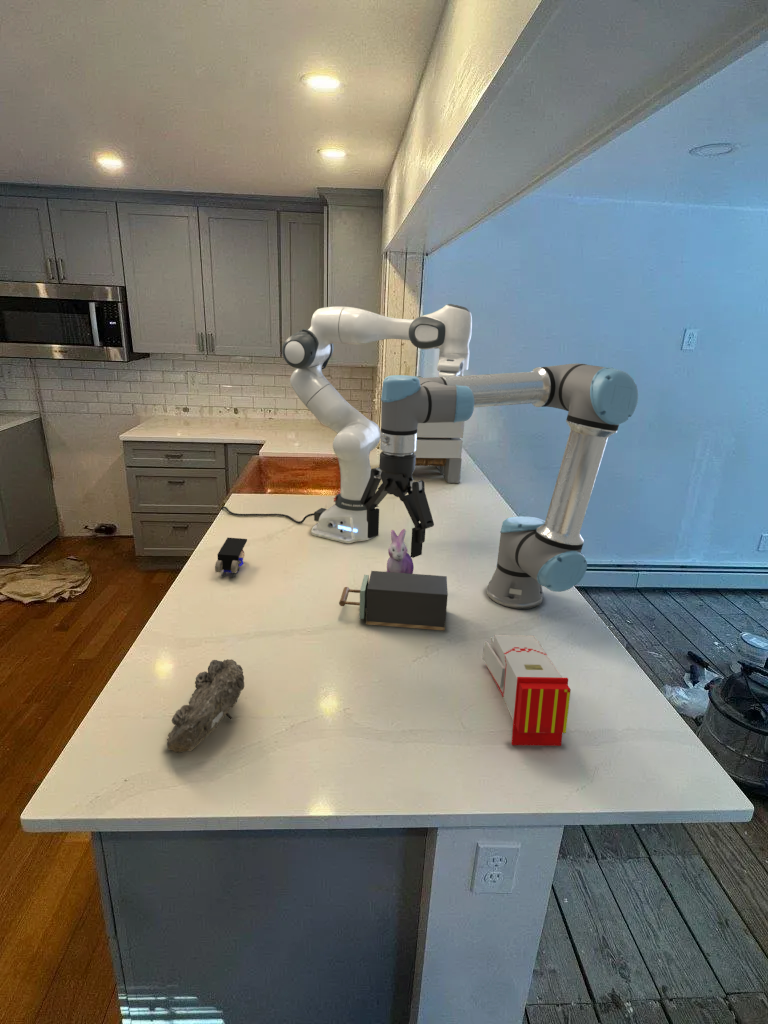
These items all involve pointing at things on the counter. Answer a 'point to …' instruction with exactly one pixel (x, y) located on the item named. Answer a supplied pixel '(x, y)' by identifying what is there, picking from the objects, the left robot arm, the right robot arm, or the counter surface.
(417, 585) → the cabinet
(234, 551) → the black wheeled block
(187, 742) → the fossil
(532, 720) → the toy
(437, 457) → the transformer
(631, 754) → the counter surface
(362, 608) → the drawer
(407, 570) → the figurine
